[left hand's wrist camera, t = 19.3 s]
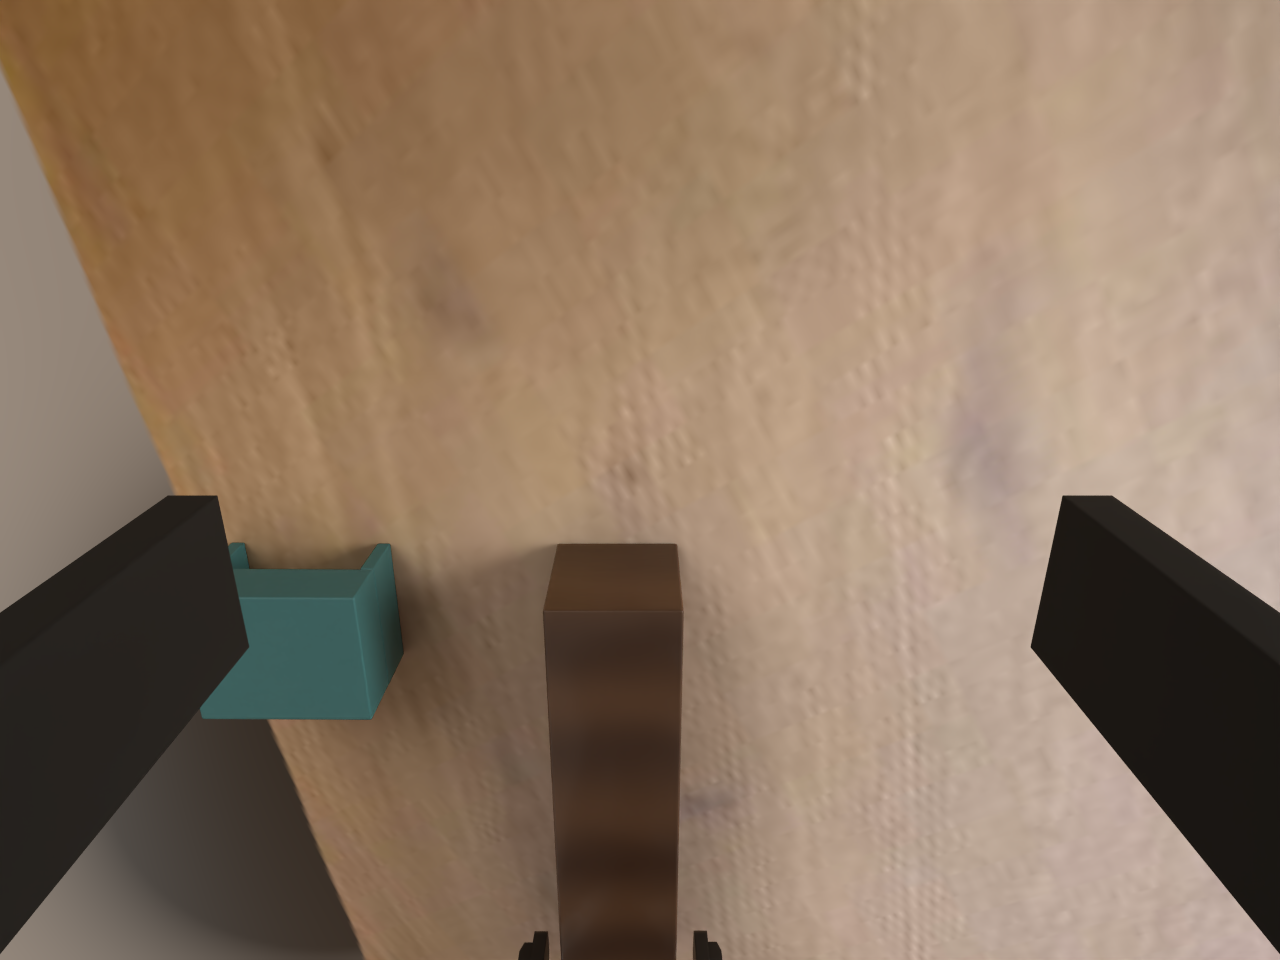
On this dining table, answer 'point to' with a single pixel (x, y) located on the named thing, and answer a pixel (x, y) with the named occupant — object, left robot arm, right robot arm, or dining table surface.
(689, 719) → the dining table surface
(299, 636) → the teal u-shaped block
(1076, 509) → the left robot arm
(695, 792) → the dining table surface
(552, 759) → the bar
